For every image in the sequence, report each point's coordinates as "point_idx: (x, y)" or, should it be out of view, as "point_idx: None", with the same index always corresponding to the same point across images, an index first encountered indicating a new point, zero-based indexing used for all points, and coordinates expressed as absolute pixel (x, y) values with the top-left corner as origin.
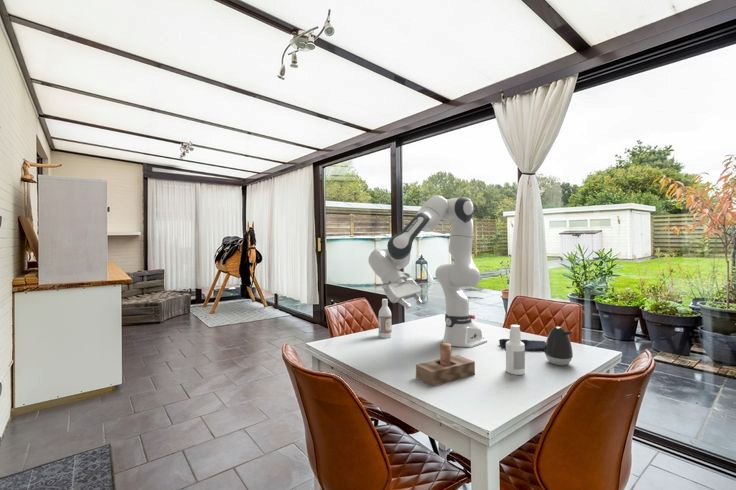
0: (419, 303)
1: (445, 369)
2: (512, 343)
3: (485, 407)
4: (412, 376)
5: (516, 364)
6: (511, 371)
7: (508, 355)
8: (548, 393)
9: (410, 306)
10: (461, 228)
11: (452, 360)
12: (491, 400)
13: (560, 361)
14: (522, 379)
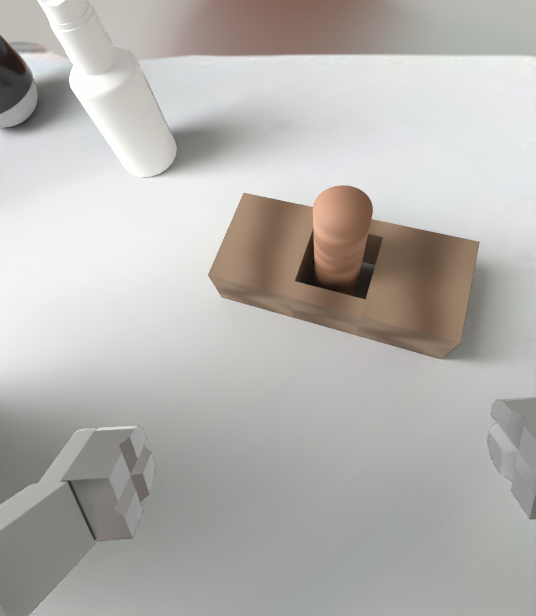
0: (142, 460)
1: (398, 226)
2: (124, 62)
3: (449, 105)
4: (441, 379)
5: (163, 116)
6: (174, 148)
7: (149, 115)
8: (252, 58)
9: (513, 399)
10: None
11: (290, 255)
12: (398, 113)
13: (35, 84)
14: (199, 122)
